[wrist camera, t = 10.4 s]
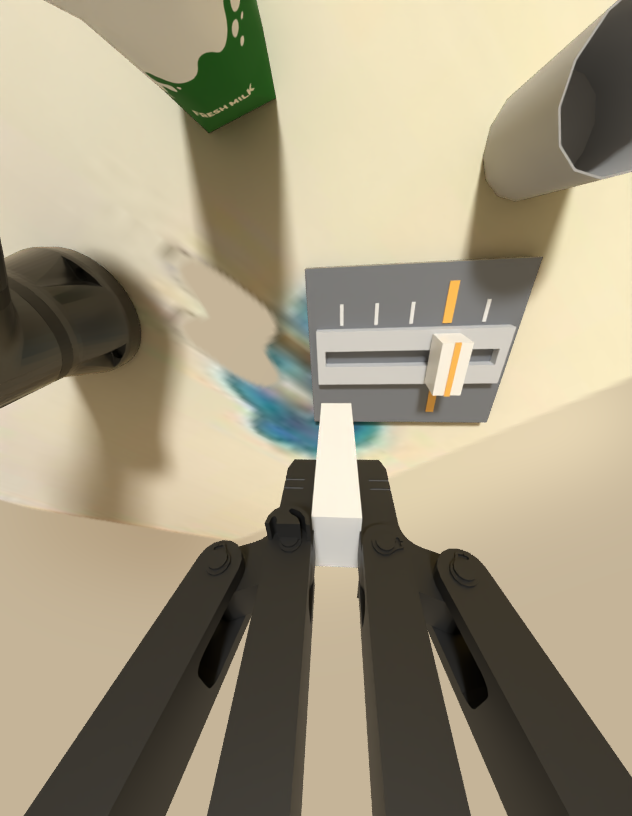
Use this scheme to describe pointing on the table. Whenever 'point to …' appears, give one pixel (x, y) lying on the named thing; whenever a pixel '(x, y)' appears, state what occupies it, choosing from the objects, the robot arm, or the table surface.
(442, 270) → the console
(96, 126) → the table surface
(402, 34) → the table surface
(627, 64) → the cup
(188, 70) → the milk carton
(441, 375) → the fader
